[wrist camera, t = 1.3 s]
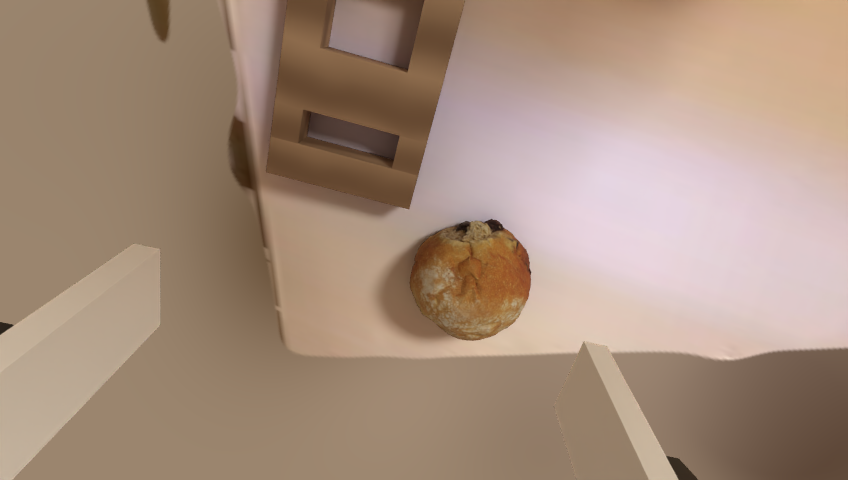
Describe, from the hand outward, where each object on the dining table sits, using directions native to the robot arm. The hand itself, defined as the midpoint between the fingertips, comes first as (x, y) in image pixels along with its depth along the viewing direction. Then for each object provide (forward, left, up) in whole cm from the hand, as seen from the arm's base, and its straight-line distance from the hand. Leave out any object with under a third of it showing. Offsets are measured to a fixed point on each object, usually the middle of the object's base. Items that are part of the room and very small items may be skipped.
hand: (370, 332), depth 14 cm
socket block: (-5, -5, -24) cm, 25 cm away
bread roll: (+9, +7, -24) cm, 27 cm away
